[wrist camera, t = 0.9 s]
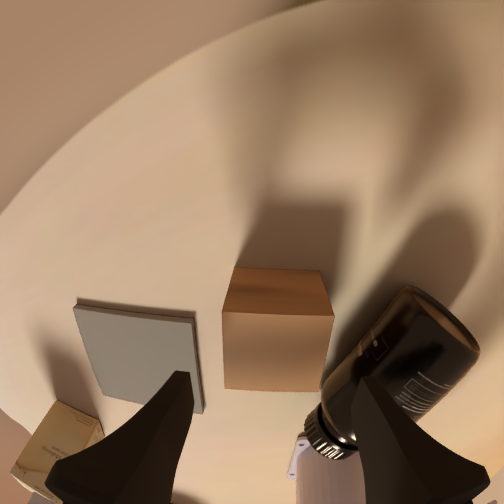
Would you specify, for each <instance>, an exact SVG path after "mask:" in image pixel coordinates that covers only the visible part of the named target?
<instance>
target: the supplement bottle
mask: <svg viewBox="0 0 504 504" xmlns="http://www.w3.org/2000/svg"><path fill="white" fill-rule="evenodd" d="M479 356H480V347H479V345H478V343H477V341H476V340H475V338H474V337H473V335H472V334H471V333H470V332H469V330H468V329H467V328H466V327H465V326H464V325H463V324H462V323H461V322H460V321H459V320H458V319H457V318H456V317H455V316H454V315H453V314H452V313H451V312H450V311H449V310H448V309H446V308H445V307H444V306H443V305H442V304H440V303H439V302H438V301H437V300H435V299H434V298H433V297H431V296H430V295H428V294H427V293H425V292H424V291H422V290H420V289H419V288H416V287H414V286H407V287H404V288H403V289H401V290H400V292H399V293H398V294H397V295H396V297H395V298H394V299H393V301H392V302H391V303H390V304H389V306H388V307H387V308H386V310H385V311H384V312H383V313H382V315H381V316H380V317H379V318H378V320H377V321H376V322H375V324H374V325H373V326H372V327H371V328H370V330H369V331H368V332H367V333H366V335H365V336H364V337H363V338H362V339H361V340H360V342H359V343H358V344H357V345H356V346H355V348H354V349H353V350H352V351H351V352H350V353H349V354H348V356H347V357H346V358H345V359H344V360H343V361H342V362H341V363H340V364H339V366H338V367H337V368H336V369H335V370H334V371H333V372H332V373H331V374H330V376H329V377H328V378H327V379H326V381H325V383H324V385H323V388H322V393H321V402H320V403H319V404H318V405H317V406H316V408H315V409H314V410H313V411H312V412H311V413H310V414H309V415H308V416H307V419H306V420H305V424H304V426H305V428H304V430H305V435H306V437H307V440H308V441H309V443H310V445H311V446H312V447H313V448H314V450H316V451H317V452H318V453H319V454H321V455H322V456H323V457H326V458H328V459H332V460H341V459H342V460H344V459H346V458H348V457H350V456H351V455H353V454H354V453H356V452H359V451H358V447H357V443H356V438H355V434H354V430H353V425H352V417H351V404H352V402H353V399H354V396H355V394H356V391H357V388H358V385H359V383H360V380H361V377H370V376H375V377H376V379H377V380H378V381H379V382H380V383H381V385H382V386H383V387H384V388H385V390H386V391H387V392H388V393H389V394H390V396H391V397H392V398H393V399H394V400H395V402H396V403H397V404H398V405H399V406H400V407H401V408H402V409H403V411H404V412H405V413H406V414H407V415H408V416H409V417H410V418H411V419H412V420H413V421H414V422H415V423H416V422H417V421H418V420H419V419H421V418H422V417H423V416H424V415H425V414H426V413H427V412H429V411H430V410H431V409H432V408H433V407H434V406H435V405H436V404H437V403H438V402H439V401H440V400H441V399H442V398H444V397H445V396H446V395H447V394H448V393H449V392H450V391H451V390H452V389H453V388H454V387H455V386H456V385H457V383H458V382H459V381H460V380H461V379H462V378H463V377H464V376H465V375H466V374H467V373H468V371H469V370H470V369H471V368H472V367H473V366H474V365H475V363H476V362H477V361H478V359H479Z"/></svg>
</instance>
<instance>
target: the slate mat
mask: <svg viewBox="0 0 504 504" xmlns="http://www.w3.org/2000/svg"><path fill="white" fill-rule="evenodd" d="M73 311H74V315H75V318H76V322H77V325H78V328H79V331H80V334H81V337H82V340H83V343H84V346H85V349H86V352H87V355H88V358H89V360H90V363H91V366H92V368H93V371H94V374H95V376H96V379H97V381H98V383H99V386H100V388H101V391H102V393H103V395H105V396H109V397H113V398H117V399H121V400H125V401H129V402H134V403H138V404H143V405H145V404H146V403H147V402H148V401H149V400H150V399H151V398H152V397H153V396H154V395H155V394H156V393H157V392H158V390H159V389H160V388H161V387H162V386H163V385H164V383H165V382H166V381H167V380H168V378H169V377H170V376H171V375H172V373H173V372H174V371H176V370H178V371H186V372H190V376H191V383H192V389H193V395H194V401H195V404H194V410H193V413H196V414H203V411H204V405H203V398H202V391H201V383H200V375H199V367H198V359H197V350H196V341H195V331H194V320H193V318H182V317H171V316H162V315H152V314H144V313H135V312H127V311H120V310H112V309H105V308H98V307H91V306H85V305H79V304H76V305H75V306H74V307H73Z"/></svg>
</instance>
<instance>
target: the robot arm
mask: <svg viewBox="0 0 504 504" xmlns="http://www.w3.org/2000/svg"><path fill="white" fill-rule="evenodd" d="M194 404H195V401H194V395H193V389H192V383H191V376H190V372H186V371H178V370H176V371H174V372H173V373H172V375H171V376H170V377H169V378H168V380H167V381H166V382H165V383H164V385H163V386H162V387H161V388H160V389H159V390H158V392H157V393H156V394H155V395H154V396H153V397H152V398H151V399H150V400H149V401H148V402H147V403H146V404H145V405H144V406H143V407H142V408H141V409H140V410H139V411H138V412H137V413H136V414H135V415H134V416H133V417H132V418H131V419H129V420H128V421H127V422H126V423H125V424H123V425H122V426H121V427H120V428H118V429H117V430H116V431H114V432H113V433H111V434H110V435H108V436H107V437H105V438H104V439H102V440H101V441H99V442H97V443H95V444H93V445H92V446H90V447H88V448H86V449H84V450H82V451H80V452H78V453H75V454H73V455H70V456H68V457H65V458H63V459H60V460H57V461H56V462H55V464H54V465H53V466H52V468H51V470H50V472H49V474H48V476H47V478H46V480H45V482H44V484H45V486H46V488H47V489H48V490H49V491H51V492H52V493H53V494H54V495H55V496H56V497H58V498H59V499H60V500H61V501H63V503H62V504H170V501H171V495H172V489H173V483H174V478H175V473H176V468H177V465H178V461H179V458H180V455H181V452H182V449H183V446H184V443H185V440H186V437H187V434H188V431H189V428H190V424H191V420H192V415H193V410H194ZM351 417H352V425H353V430H354V434H355V438H356V443H357V447H358V451H359V452H356V453H354V454H353V455H351V456H350V457H348V458H346V459H344V460H342V459H341V460H332V459H328V458H326V457H323V456H322V455H321V454H319V453H318V452H317V451H316V450H314V448H313V447H312V446H311V445H310V443H309V441H308V440H307V437H306V436H305V437H299V438H297V440H296V444H295V448H294V452H293V455H292V459H291V463H290V466H289V470H288V473H287V479H296V504H473V502H472V499H474V498H475V497H476V496H477V495H479V494H480V493H481V492H482V491H484V490H485V489H486V488H487V487H488V486H489V484H490V479H489V476H488V474H487V471H486V469H485V467H484V466H482V465H479V464H477V463H474V462H472V461H470V460H467V459H465V458H463V457H462V456H460V455H458V454H456V453H454V452H453V451H451V450H449V449H448V448H446V447H445V446H443V445H442V444H440V443H439V442H437V441H436V440H435V439H433V438H432V437H431V436H430V435H428V434H427V433H426V432H425V431H424V430H422V429H421V428H420V427H419V426H418V425H417V424H416V423H415V422H414V421H413V420H412V419H411V418H410V417H409V416H408V415H407V414H406V413H405V412H404V411H403V409H402V408H401V407H400V406H399V405H398V404H397V403H396V402H395V400H394V399H393V398H392V397H391V396H390V394H389V393H388V392H387V391H386V390H385V388H384V387H383V386H382V385H381V383H380V382H379V381H378V380H377V379H376V377H375V376H370V377H361V380H360V383H359V385H358V388H357V391H356V394H355V396H354V399H353V402H352V404H351ZM28 504H56V503H54V502H53V501H51V500H49V499H47V498H45V497H44V496H42V495H40V494H38V493H37V492H33V494H32V496H31V498H30V500H29V502H28ZM488 504H497V501H496V500H493V501H492V502H490V503H488Z"/></svg>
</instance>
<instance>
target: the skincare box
mask: <svg viewBox="0 0 504 504" xmlns="http://www.w3.org/2000/svg"><path fill="white" fill-rule="evenodd" d="M102 439H104V434H103V431H102V428H101V425H100V423H99V421H98V420H97V419H95V418H92V417H90V416H88V415H86V414H84V413H82V412H80V411H78V410H76V409H74V408H71V407H69V406H68V405H66V404H64V403H62V402H60V401H57V400H56V401H55V402H54V404H53V405H52V407H51V408H50V410H49V411H48V413H47V414H46V416H45V417H44V419H43V420H42V422H41V423H40V425H39V426H38V428H37V429H36V431H35V432H34V434H33V435H32V437H31V439H30V440H29V442H28V443H27V445H26V447H25V448H24V450H23V451H22V453H21V455H20V456H19V458H18V460H17V461H16V463H15V464H14V466H13V468H12V469H11V471H10V474H11V475H12V476H13V477H14V478H15V479H16V480H17V481H19V483H20V484H21V485H23V487H25V488H26V489H28V490H29V491H31V492H32V493H33V492H37V493H38V494H40V495H42V496H44V497H45V498H47V499H49V500H51V501H53V502H54V503H56V504H62V503H63V501H61V500H60V499H59V498H58V497H56V496H55V495H54V494H53V493H52V492H51V491H49V490H48V489H47V488H46V486H45V484H44V482H45V480H46V478H47V476H48V474H49V472H50V470H51V468H52V466H53V465H54V464H55V462H56V461H57V460H60V459H63V458H65V457H68V456H70V455H73V454H75V453H78V452H80V451H82V450H84V449H86V448H88V447H90V446H92V445H93V444H95V443H97V442H99V441H101V440H102Z"/></svg>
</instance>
